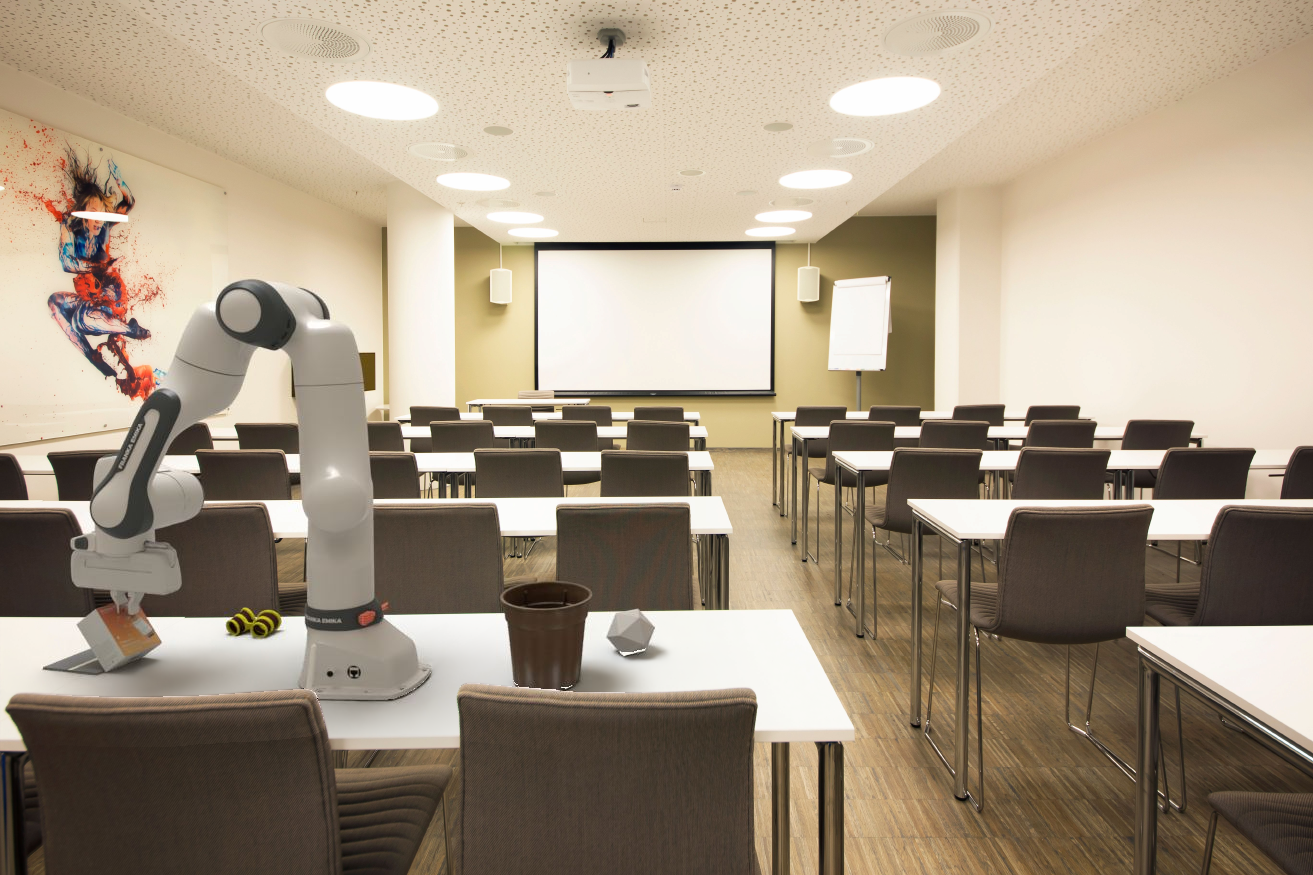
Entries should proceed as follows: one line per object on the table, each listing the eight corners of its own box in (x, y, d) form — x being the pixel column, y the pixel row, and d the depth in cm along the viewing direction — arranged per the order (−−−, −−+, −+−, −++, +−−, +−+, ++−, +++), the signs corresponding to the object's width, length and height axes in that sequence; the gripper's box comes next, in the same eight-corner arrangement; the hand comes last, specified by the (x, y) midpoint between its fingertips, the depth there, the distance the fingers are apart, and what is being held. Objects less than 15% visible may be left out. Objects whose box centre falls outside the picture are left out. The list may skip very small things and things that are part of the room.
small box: (125, 658, 131) (94, 608, 131) (105, 673, 132) (74, 624, 132) (163, 642, 138) (134, 595, 139) (144, 656, 140) (115, 610, 140)
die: (652, 664, 143) (666, 615, 148) (615, 647, 140) (630, 597, 144) (630, 665, 150) (644, 618, 155) (594, 648, 147) (610, 601, 151)
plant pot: (524, 708, 122) (525, 614, 120) (485, 674, 135) (485, 589, 133) (607, 685, 131) (609, 597, 130) (563, 656, 144) (564, 576, 143)
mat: (145, 654, 141) (144, 651, 141) (96, 675, 131) (96, 672, 131) (94, 648, 143) (94, 646, 143) (43, 669, 133) (42, 666, 133)
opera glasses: (225, 638, 152) (221, 617, 151) (244, 625, 157) (240, 604, 156) (266, 643, 150) (262, 621, 149) (284, 629, 155) (280, 608, 154)
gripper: (189, 539, 135) (191, 612, 136) (94, 532, 138) (97, 603, 139) (160, 547, 128) (162, 624, 130) (62, 539, 132) (65, 614, 133)
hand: (128, 613), depth 134 cm, fingers closed
